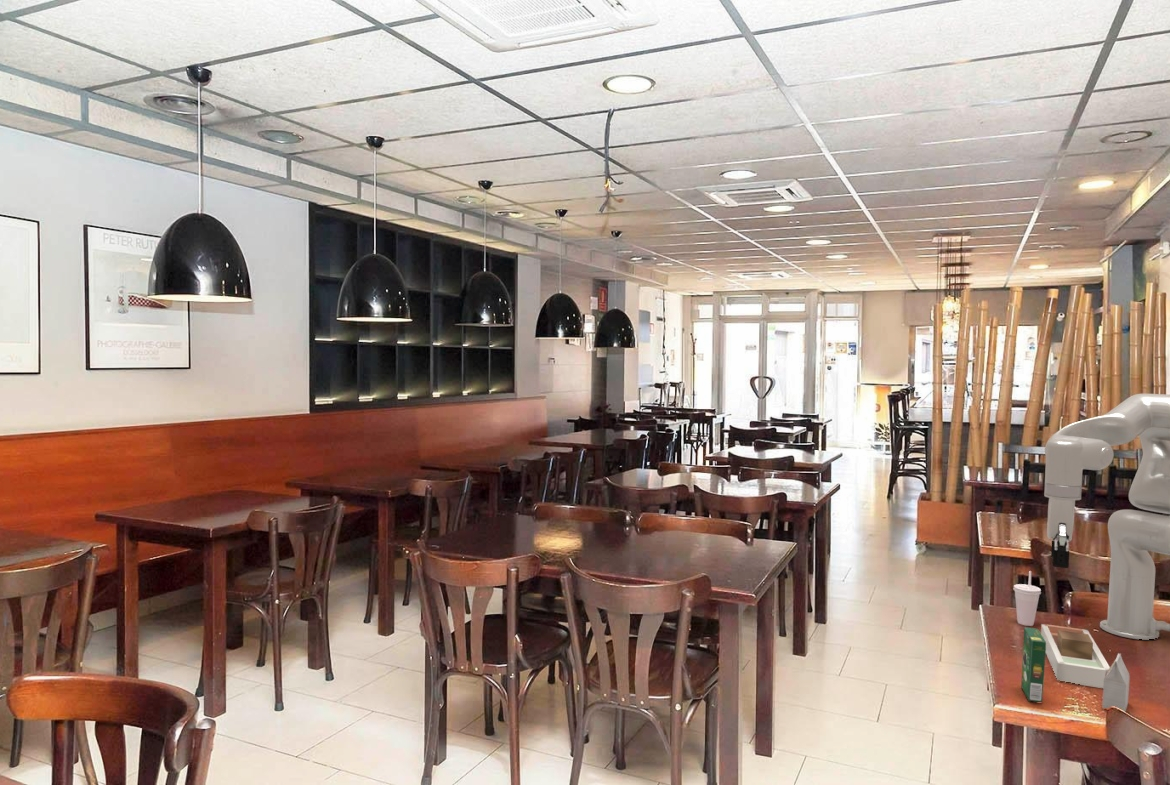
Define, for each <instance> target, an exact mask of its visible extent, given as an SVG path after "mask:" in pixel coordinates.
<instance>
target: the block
mask: <svg viewBox="0 0 1170 785" xmlns="http://www.w3.org/2000/svg"><path fill="white" fill-rule="evenodd" d="M1057 648H1058V650H1059V652H1060V654H1061V656H1067V657H1074V658H1081V659H1087V660H1092V652H1093V642H1092V640H1091V638H1090V637H1089V635H1088V634H1083V633H1076V632H1068V631H1061V630H1058V640H1057Z"/></svg>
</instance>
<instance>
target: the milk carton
mask: <svg viewBox="0 0 1170 785" xmlns="http://www.w3.org/2000/svg"><path fill="white" fill-rule="evenodd" d="M1109 667H1110V668H1109V670H1108V671H1107V674H1106V676H1105V679H1104V687H1103V688H1102V690H1103V691H1102V706H1101V707H1103V708H1109V707H1111V706H1115V707H1118V708H1121V709H1122V710H1124V711H1125V712H1126V711H1127V708H1128V705H1129V696H1130V695H1129V693H1130V676H1131V675H1130V673H1129V670H1128V669H1127V667H1126V665H1125V663H1124V660H1123V657H1122V653H1119V652H1118V653H1117V655H1116V658H1115V659H1114V661H1113V662H1112V664H1111V666H1109Z"/></svg>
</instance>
